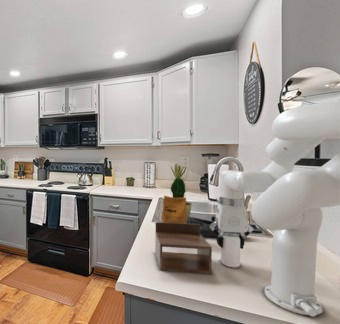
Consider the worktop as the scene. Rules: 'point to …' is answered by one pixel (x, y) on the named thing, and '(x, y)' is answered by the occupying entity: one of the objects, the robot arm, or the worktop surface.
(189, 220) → the loafer
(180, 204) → the coffee package
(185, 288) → the worktop surface
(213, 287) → the worktop surface
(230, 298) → the worktop surface
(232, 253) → the can
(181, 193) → the potted cactus
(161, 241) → the shelf
